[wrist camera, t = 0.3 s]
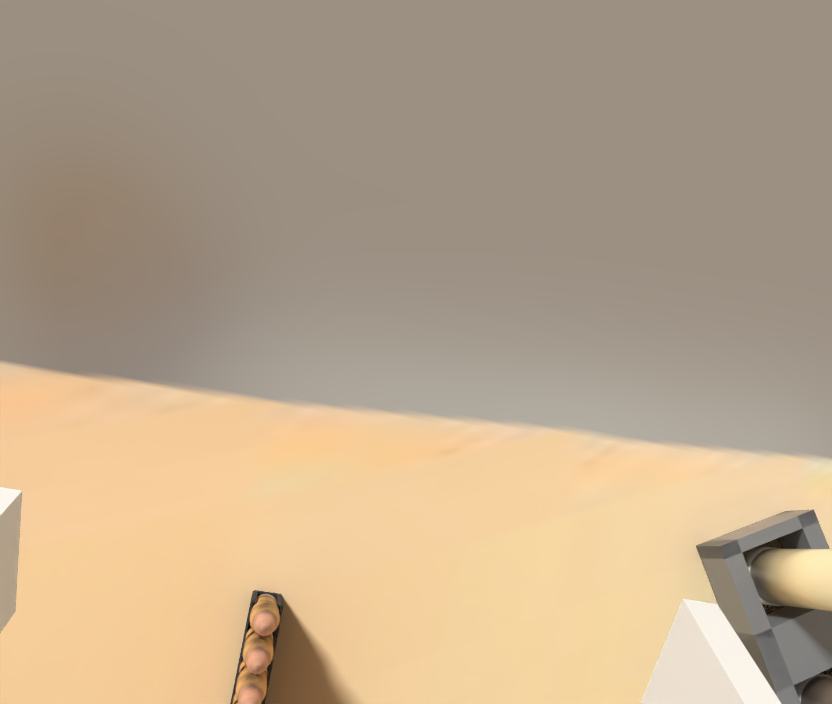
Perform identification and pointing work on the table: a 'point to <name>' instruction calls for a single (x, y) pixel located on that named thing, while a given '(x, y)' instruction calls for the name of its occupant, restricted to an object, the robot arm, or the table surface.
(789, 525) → the block
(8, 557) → the robot arm
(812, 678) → the fuse
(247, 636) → the ammunition clip
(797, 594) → the white rounded cylinder
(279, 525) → the table surface
